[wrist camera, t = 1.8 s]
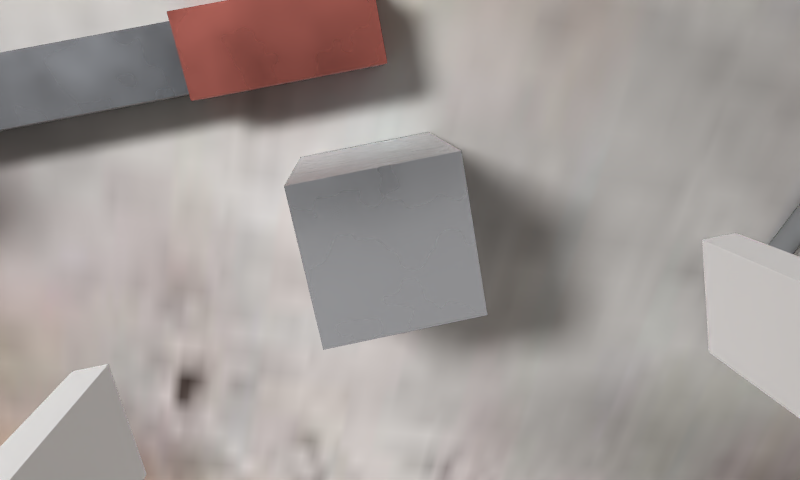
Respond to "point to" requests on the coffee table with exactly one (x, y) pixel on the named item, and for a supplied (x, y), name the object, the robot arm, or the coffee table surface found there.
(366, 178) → the light grey block
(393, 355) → the coffee table surface
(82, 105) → the ratchet
